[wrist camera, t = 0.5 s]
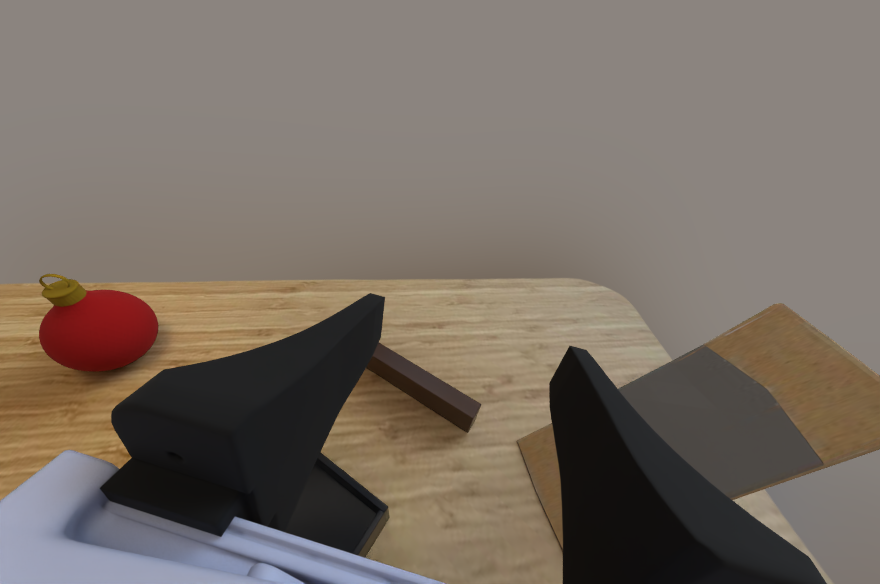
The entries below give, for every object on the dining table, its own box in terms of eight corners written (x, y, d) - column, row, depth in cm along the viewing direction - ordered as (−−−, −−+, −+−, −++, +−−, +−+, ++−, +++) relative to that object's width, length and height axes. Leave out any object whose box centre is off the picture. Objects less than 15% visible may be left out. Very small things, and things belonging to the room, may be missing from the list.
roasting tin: (254, 797, 15) (225, 836, 12) (96, 575, 20) (52, 570, 17) (405, 530, 22) (405, 520, 20) (265, 416, 27) (252, 397, 25)
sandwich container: (513, 437, 28) (583, 333, 17) (652, 401, 31) (779, 298, 21) (564, 561, 22) (716, 519, 11) (726, 499, 26) (953, 425, 15)
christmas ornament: (180, 318, 33) (121, 241, 26) (163, 376, 29) (87, 301, 22) (96, 331, 31) (9, 252, 24) (64, 395, 27) (-56, 320, 20)
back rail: (467, 433, 28) (473, 418, 26) (333, 346, 33) (328, 328, 31) (475, 419, 29) (481, 404, 27) (343, 336, 34) (339, 318, 32)
